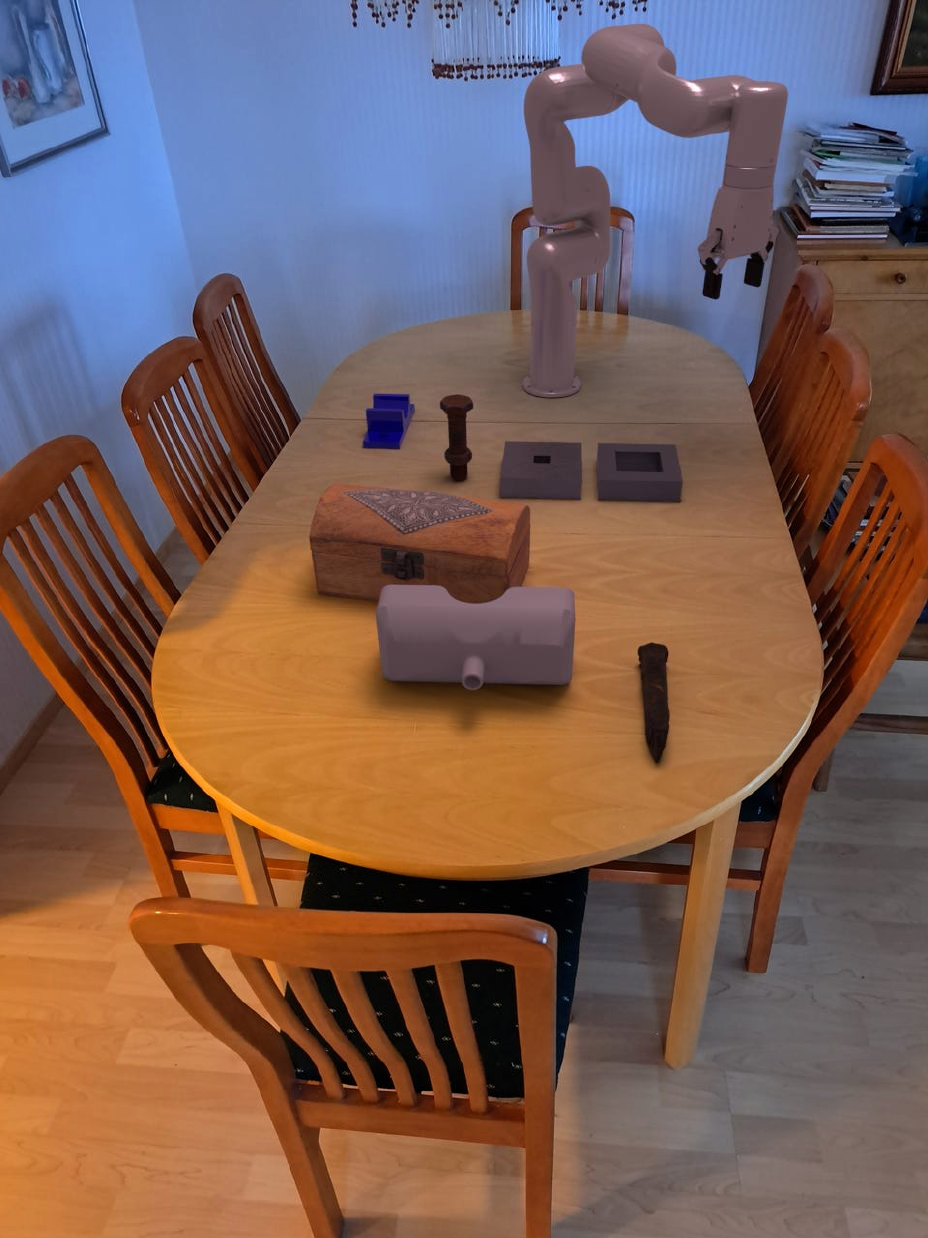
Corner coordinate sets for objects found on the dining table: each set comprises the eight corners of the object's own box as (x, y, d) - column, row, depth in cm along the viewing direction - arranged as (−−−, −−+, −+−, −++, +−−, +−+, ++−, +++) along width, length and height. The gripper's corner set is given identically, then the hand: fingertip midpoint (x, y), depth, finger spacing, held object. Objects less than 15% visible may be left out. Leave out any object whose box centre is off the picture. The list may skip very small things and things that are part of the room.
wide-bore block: (596, 462, 167) (597, 442, 165) (672, 464, 166) (675, 444, 163) (598, 500, 156) (599, 479, 154) (680, 502, 155) (682, 481, 152)
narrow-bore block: (505, 460, 169) (505, 441, 166) (580, 462, 167) (581, 442, 165) (500, 497, 158) (500, 477, 155) (580, 499, 156) (581, 479, 154)
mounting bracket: (381, 411, 189) (378, 383, 185) (415, 412, 188) (413, 384, 184) (363, 449, 175) (360, 421, 171) (400, 451, 174) (397, 422, 170)
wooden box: (312, 599, 135) (299, 519, 127) (352, 541, 148) (343, 466, 139) (506, 628, 128) (506, 545, 120) (531, 565, 141) (532, 487, 132)
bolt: (476, 471, 166) (474, 394, 156) (473, 484, 162) (471, 406, 152) (444, 470, 166) (441, 393, 157) (441, 483, 162) (437, 405, 153)
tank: (375, 716, 114) (366, 639, 107) (391, 638, 127) (384, 564, 119) (573, 722, 112) (577, 644, 105) (569, 642, 125) (573, 567, 118)
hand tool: (636, 662, 122) (639, 635, 119) (666, 665, 121) (670, 638, 118) (633, 764, 107) (636, 736, 104) (667, 768, 106) (671, 740, 103)
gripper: (767, 164, 143) (749, 275, 153) (690, 180, 135) (676, 296, 145) (806, 172, 138) (785, 286, 148) (728, 189, 130) (711, 308, 140)
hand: (731, 291), depth 147 cm, fingers open, 9 cm apart
